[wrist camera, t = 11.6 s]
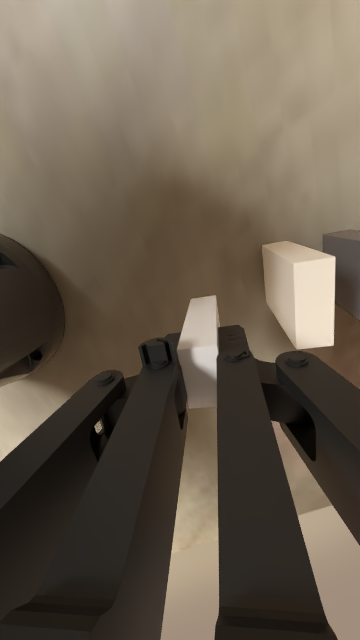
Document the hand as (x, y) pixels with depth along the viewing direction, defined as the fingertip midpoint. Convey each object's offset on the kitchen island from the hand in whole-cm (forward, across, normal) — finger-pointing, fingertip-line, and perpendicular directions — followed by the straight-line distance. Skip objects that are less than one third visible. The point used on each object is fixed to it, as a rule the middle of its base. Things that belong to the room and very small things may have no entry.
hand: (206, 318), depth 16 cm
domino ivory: (+8, +6, 0) cm, 10 cm away
